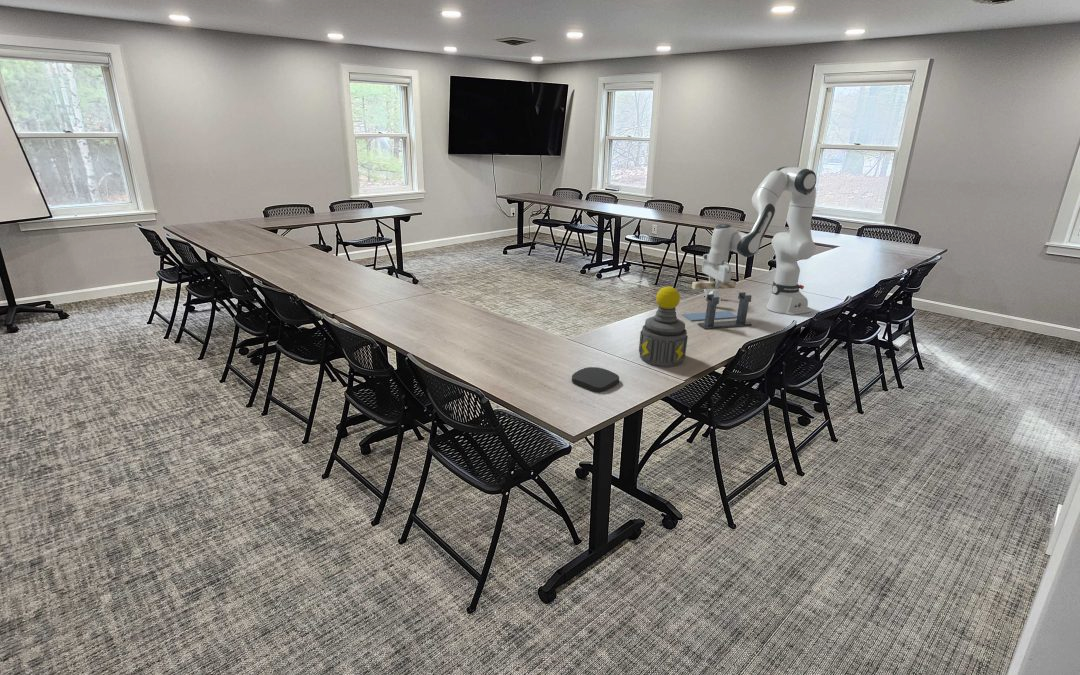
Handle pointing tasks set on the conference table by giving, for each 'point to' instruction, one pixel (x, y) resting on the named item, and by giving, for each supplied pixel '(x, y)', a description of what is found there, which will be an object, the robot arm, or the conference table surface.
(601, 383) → the media streaming box
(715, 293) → the headset
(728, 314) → the mat
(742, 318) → the hook rack
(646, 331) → the decorative lamp
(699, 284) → the rail
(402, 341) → the conference table surface
